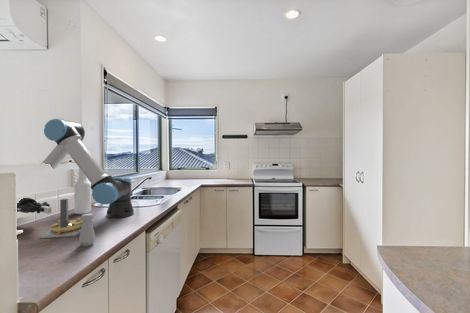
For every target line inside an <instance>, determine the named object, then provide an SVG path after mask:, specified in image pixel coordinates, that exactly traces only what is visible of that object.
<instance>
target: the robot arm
mask: <svg viewBox="0 0 470 313" xmlns="http://www.w3.org/2000/svg"><path fill="white" fill-rule="evenodd" d="M43 134H44V136H45V137H46V138H47V139H48V140H50V141H53V142H55V143H56V144H57V145H56V146H55V147H54V148H53V149H52V150H51V152H50V153H49V154H48V155H47V156H46V157H45V159H44V160H43V161H42V162H41V164H42V163H45V164H50V165H51V167H52V168H53V169H55V168H56V169H57V168H58V167H59V166H60V164H61V163H62V162H63V161H64V160H65V159H66V158H67V156H68V155H69V156H70V157H71V158H72V160H73V162H74V163H75V164H76V166H77V167H78V169H79V168H80V169H81V170H82V172H83V173H84V174H85V176H86V177H87V179H88V181H89V182H90V183H91V186H90V187H91V198H93V200H94V201H95V202H96V203H98V204H100V205H108V204H109V205H108V207H107V211H106V217H107V218H112V219H116V218H117V219H119V218H125V217H130V216H132V215H134V213H135V210H134V206H133V204H132V179H131V178H130V177H113V176H112V175H111V174H107V173H106V172H105V171H104V169H103V167H102V166H101V165H100V164H99V163H98V161H97V160H96V159H95V157H94V156H93V155H92V153H91V152H90V151H89V149H88V148H87V147H86V145H85V144H84V143H83V140H84V139H85V135H86V131H85V129H84V126H82V124H80V123H79V122H75V121H71V120H66V119H61V118H53V119H50V120H48V121H47V122H46V124H45V125H44V128H43ZM56 169H55V170H56ZM17 212H20V213H22V214H23V213H24V214H28V213H36V214H41V213H43V214H52V207H51V205H50V204H49V203H48V202H47V201H44V202H37V201H36V199H34V198H32V197H31V198H30V197H27V198H23V199H21V200H20V201H19V203H17ZM17 212H16V213H17Z"/></svg>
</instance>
